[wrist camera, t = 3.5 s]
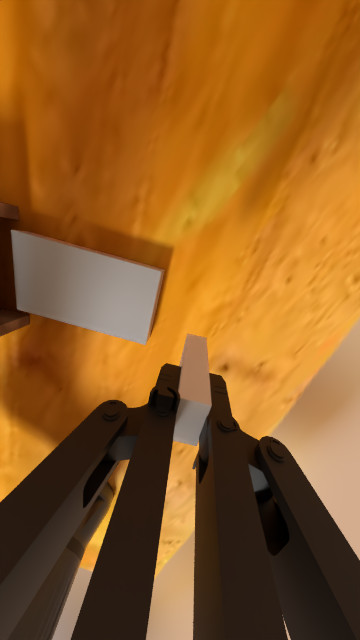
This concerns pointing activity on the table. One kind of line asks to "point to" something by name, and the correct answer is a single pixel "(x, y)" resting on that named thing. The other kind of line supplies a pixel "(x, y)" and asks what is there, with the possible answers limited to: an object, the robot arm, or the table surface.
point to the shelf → (5, 319)
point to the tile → (85, 286)
